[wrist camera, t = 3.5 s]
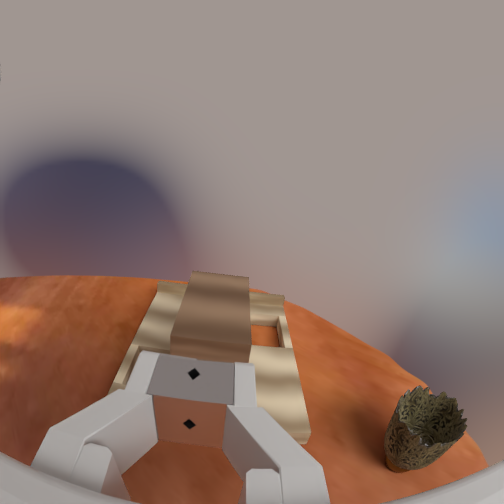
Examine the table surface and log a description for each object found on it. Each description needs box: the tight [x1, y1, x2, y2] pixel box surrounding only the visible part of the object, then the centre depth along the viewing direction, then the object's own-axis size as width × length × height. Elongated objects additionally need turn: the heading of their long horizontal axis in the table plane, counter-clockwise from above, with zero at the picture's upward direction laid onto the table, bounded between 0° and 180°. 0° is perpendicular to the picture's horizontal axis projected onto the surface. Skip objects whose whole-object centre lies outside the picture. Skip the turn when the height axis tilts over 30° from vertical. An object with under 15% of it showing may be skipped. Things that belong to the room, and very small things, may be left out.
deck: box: [107, 281, 311, 444], centre depth 37 cm, size 26×20×4 cm
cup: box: [384, 386, 467, 473], centre depth 22 cm, size 8×7×8 cm
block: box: [170, 271, 252, 363], centre depth 29 cm, size 12×6×10 cm, turn 2°
